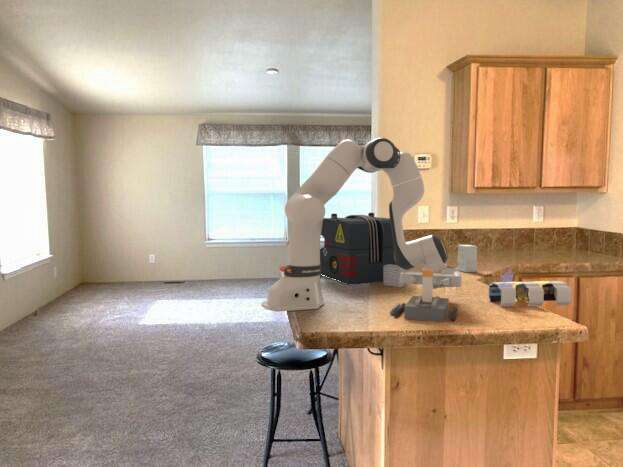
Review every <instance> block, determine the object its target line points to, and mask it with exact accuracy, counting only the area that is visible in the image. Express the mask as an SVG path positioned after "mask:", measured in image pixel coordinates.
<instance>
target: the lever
mask: <svg viewBox="0 0 623 467" xmlns="http://www.w3.org/2000/svg"><path fill="white" fill-rule="evenodd" d="M433 276H434V269H423V270H422V284H421V285H422V287H421V289H422V290H421V291H422V294H421V295H422V302H431V303H432V301H433V297H434V289H433Z"/></svg>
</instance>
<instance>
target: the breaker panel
mask: <svg viewBox="0 0 623 467" xmlns="http://www.w3.org/2000/svg"><path fill="white" fill-rule="evenodd" d="M449 303H450V298H447V297H441V296H440V295H438V296H437V295H436V296H433V301H432V303H431V302H422V294H420V295H418V296H417V295H412V296H411V298H410V299H409V300H408V301H407V303H405V304H406V305H405V307H404V312H403V313H404V318H405V319H406V320H417V321H430V322H439V323H444V322H445V320H446V318H447V315H448V313H449V310H450V304H449Z"/></svg>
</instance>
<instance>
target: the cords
mask: <svg viewBox="0 0 623 467" xmlns="http://www.w3.org/2000/svg"><path fill="white" fill-rule="evenodd" d="M406 304H407V303H405V302H403V303H400V302H397V303H396V304H395V305H394V307H393V308H392V309H390V311H389V314H390V315H393V316H394V317H395V318H397V317H398V316H399V315H400V314H401V312H402V311H404V309H405V305H406ZM458 312H459V308H458V307H454V308H453V311H452V313H451V315H450V320H451V321H455V320H456V319H457V315H458Z"/></svg>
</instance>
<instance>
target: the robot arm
mask: <svg viewBox="0 0 623 467" xmlns="http://www.w3.org/2000/svg"><path fill="white" fill-rule="evenodd" d="M357 169H359V170H361V171H362V172H365V173H368V174H369V173H370V174H372V173H375V172H380V171H383V172H384V173H386V175H387V177H388V178H389V180H390V184H391V188H392V192H393V193H392V195H393V196H392V200H391V201H390V202H389V205H388V214H389V218H390V224H391V231H392V237H393V245H394V258H395V262H396V264H397V266H399V267H400V268H402V269H404V271H403V272H401V273H400V282H401V283H404V284H407V285H422V270H423V269H434V276H433V290H434V289H435V290H436V289H441V288H454V287H455V288H460V287H462V273H461V271H460V270H459V269H458V268H457V267H453V266H448V264H447V261H448V251H447V248H446V246H445V245H446V244H445V243H444V241H443V240H442V239H441V238H440V237H439V236H437V235H435V234H430V235H427V236H426V235H425V236H423V237H420V238H416V239H413V240H410V241H406V240H405V235H404V226H403V218H404V215H405V214H406V213H407V212H409V211H410V210H411V209H412V208H414V207H415V206H416V205H417V204H418V203H419V202H420V201H421V200H422V198H423V197H424V195H425V185H424V182H423V177H422V175H421V172H420V170H419V167H418V165H417V163H416V161H415V158H414V157H413V155H412V154H411V153H409V152H407V151H401V150H399V149H398V147H396V145H395V144H394V143H393V142H392V141H391V140H390V139H388V138H385V137H377V138H374V139H372V140H370V141H368V142H366V143H365V144H363V145H360V144H358V143H357V142H356V141H353V140H351V139H344V140H341V142H338V144H337V145H335V147H334V148H333V149H332V150H330V152H329V153H328V154H327V155H326V156H325V157H324V159H323V160H322V162H320V164H319V165H318V167H317V168H316V169H315V170H314V171H313V173H312V174H311V175H310V176H309V177H308V178H307V179H306V181H305V182H303V184H301V185H300V187H299V188H298V189H297V190H296V191H295V192H294V193H293V194H292V196H290V198H289V199H287V201H286V203H285V206H284V213H285V217H286V218H287V220H289V221H290V222H291V228H290V236H289V240H288V264H287V265H286V266H284V265H280V266H279V267H278V270H279V272H282V273H283V276H281V277H280V279H279V280H277V281H276V282H275V283H273V285H271V286H270V287H269V289H268V293H267V300H263V301H261V307H262V308H264V309H265V310H268V311H272V312H290V311H291V312H292V311H304V310H315V309H320V307H321V306H323V305H324V304H325V301H324V296H323V292H322V285H321V279H322V276H321V264H320V249H321V237H322V235H321V231H322V224H323V218H325V215H326V208H325V205H326V204H327V203H328V202H329V201H330V200H331V199H333V197H335V196H336V195H337V194H338V193H339V191H340V190H341V189H342V187H343V186H344V185H345V183H347V181H348V180H349V179H350V177H351V176H352V174H353V173H354V172H355V171H356V170H357ZM423 265H424V266H423ZM419 266H423V267H422V268H421V270H411V269H413V268H416V267H419Z"/></svg>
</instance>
